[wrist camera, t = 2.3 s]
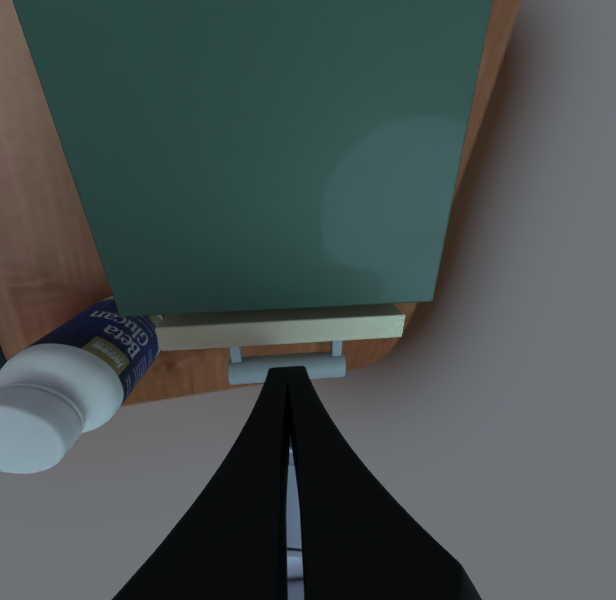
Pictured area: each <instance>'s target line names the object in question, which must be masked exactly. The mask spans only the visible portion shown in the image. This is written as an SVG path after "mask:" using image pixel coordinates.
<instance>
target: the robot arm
mask: <svg viewBox="0 0 616 600" xmlns="http://www.w3.org/2000/svg"><path fill="white" fill-rule="evenodd" d="M290 435H291V443H292V447H290ZM112 600H482V599H481V597H480V595H479V594H478V592H477V590H476V588H475V587H474V585H473V583H472V582H471V580H470V578H469V577H468V575H467V573H466V572H465V570H464V568H463V567H462V565H461V564H460V563H459V562H458V561H457V560H456V559H455V558H454V557H453V556H452V555H451V554H450V553H449V552H447V551H446V550H445V549H444V548H443V547H442V546H441V545H440V544H439V543H438V542H437V541H436V540H435V539H433V537H432V536H430V534H428V533H427V532H426V531H425V530H424V529H423V528H422V527H421V526H420V525H419V524H418V523H417V522H416V521H415V520H414V519H413V518H412V517H411V516H410V515H409V514H408V513H407V512H406V511H405V509H404V508H403V507H402V506H401V505H400V504H399V503H398V502H397V501H396V500H395V499H394V498H393V497H392V496H391V495H390V493H389V492H388V491H387V490H386V489H385V488H384V487H383V486H382V484H380V482H379V481H378V480H377V479H376V478H375V477H374V476H373V474H372V473H371V472H370V471H369V470H368V468H367V467H366V466H365V465H364V464H363V462H362V461H361V460H360V459H359V457H358V456H357V455H356V454H355V452H354V451H353V450H352V449H351V447H350V446H349V444H348V443H347V441H346V440H345V439H344V437H343V436H342V434H341V433H340V432H339V430H338V429H337V427H336V425H335V424H334V422H333V421H332V419H331V418H330V416H329V414H328V413H327V411H326V410H325V408H324V406H323V404H322V403H321V401H320V399H319V397H318V395H317V393H316V391H315V389H314V387H313V386H312V383H311V380H310V378H309V375H308V373H307V369H306V367H304V366H288V367H273V368H270V369H269V370H268V373H267V376H266V380H265V382H264V385H263V388H262V390H261V393H260V395H259V397H258V400H257V401H256V404H255V406H254V408H253V410H252V412H251V414H250V416H249V418H248V420H247V422H246V424H245V426H244V427H243V429H242V431H241V433H240V435H239V436H238V438H237V440H236V441H235V443H234V445H233V446H232V448H231V450H230V451H229V453H228V455H227V456H226V458H225V459H224V461H223V462H222V464H221V465H220V467H219V468H218V470H217V471H216V473H215V474H214V475H213V477H212V478H211V480H210V481H209V483H208V484H207V485H206V487H205V488H204V490H203V491H202V492H201V494H200V495H199V496H198V498H197V499H196V500H195V502H194V503H193V504H192V506H191V507H190V508H189V510H188V511H187V512H186V513H185V515H184V516H183V517H182V518H181V520H180V521H179V522H178V523H177V524H176V526H175V527H174V528H173V529H172V531H171V532H170V533H169V535H168V536H167V537H166V538H165V539H164V541H163V542H162V543H161V544H160V545H159V547H158V548H157V549H156V550H155V552H154V553H153V554H152V555H151V556H150V557H149V558H148V559H147V561H146V562H145V563H144V564H143V565H142V566H141V567H140V568H139V570H138V571H137V572H136V573H135V574H134V576H132V578H131V579H130V580H129V581H128V582H127V583H126V584H125V585H124V587H123V588H122V589H121V590H120V591H119V592H118V593H117V595H116V596H115V597H114V598H113V599H112Z"/></svg>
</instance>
